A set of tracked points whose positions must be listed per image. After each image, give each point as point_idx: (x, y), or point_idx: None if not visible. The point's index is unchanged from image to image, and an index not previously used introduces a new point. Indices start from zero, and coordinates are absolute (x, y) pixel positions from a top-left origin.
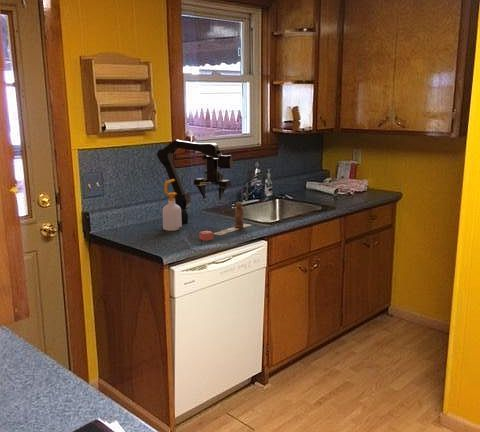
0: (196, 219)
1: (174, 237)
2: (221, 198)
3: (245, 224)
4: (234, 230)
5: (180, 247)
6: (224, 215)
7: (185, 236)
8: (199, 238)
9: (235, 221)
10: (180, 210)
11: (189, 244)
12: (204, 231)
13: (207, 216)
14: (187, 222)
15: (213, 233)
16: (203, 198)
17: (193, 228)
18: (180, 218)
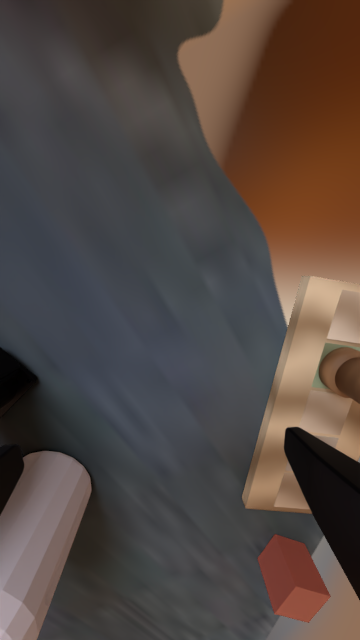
0: (9, 273)
1: (149, 561)
2: (320, 448)
3: (355, 303)
4: (341, 428)
5: (237, 620)
6: (88, 58)
7: (177, 537)
8: (262, 574)
9: (354, 400)
10: (35, 610)
11: (245, 592)
12: (290, 601)
13: (7, 157)
14: (34, 379)
15: (277, 504)
16: (9, 477)
17: (128, 437)
18: (66, 538)
